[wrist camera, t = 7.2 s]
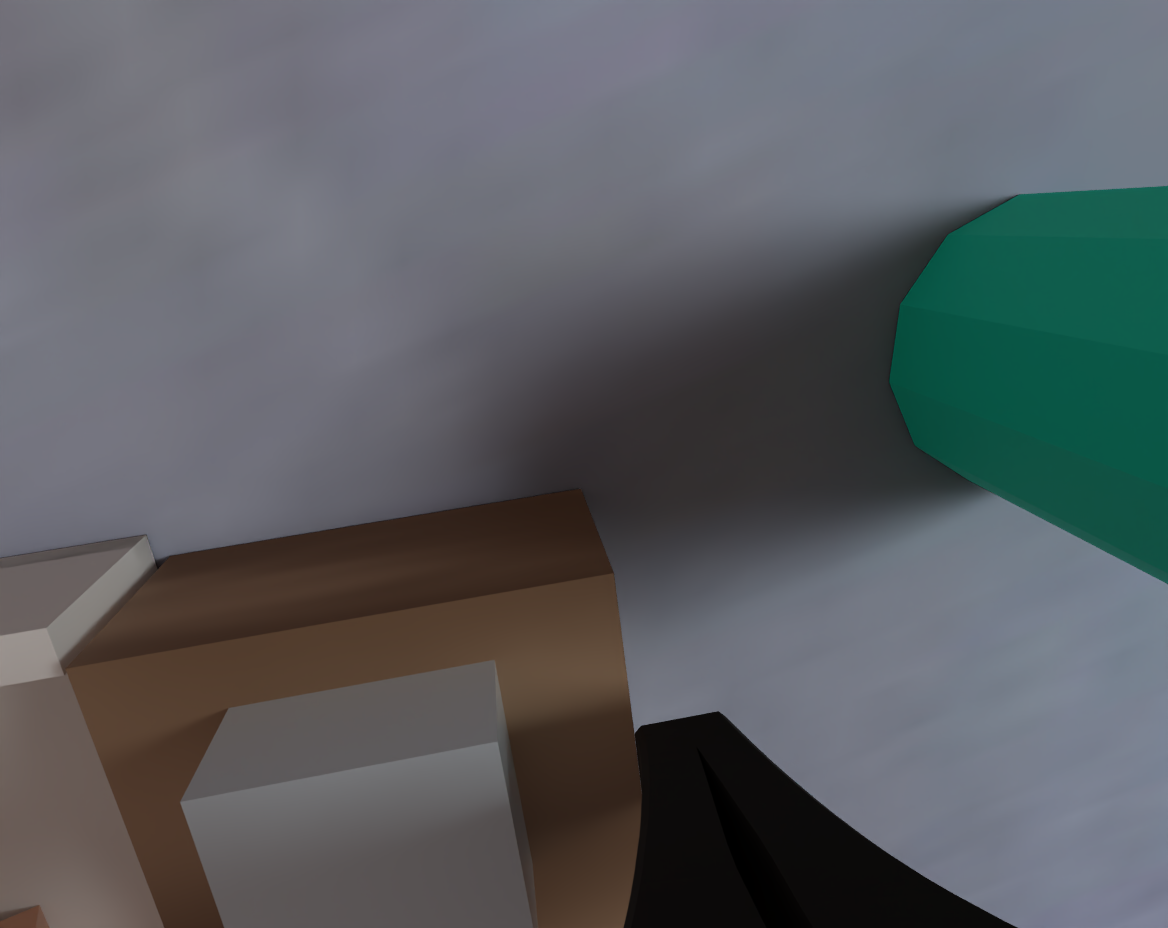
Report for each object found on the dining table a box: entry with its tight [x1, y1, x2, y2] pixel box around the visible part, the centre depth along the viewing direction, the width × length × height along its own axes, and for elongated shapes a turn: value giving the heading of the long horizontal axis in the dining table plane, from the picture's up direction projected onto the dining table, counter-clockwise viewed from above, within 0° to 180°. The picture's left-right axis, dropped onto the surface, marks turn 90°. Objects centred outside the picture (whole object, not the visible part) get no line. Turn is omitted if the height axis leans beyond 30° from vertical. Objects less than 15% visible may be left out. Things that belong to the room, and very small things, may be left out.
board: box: [65, 489, 642, 928], centre depth 15 cm, size 12×8×4 cm, turn 7°
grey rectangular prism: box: [180, 660, 538, 928], centre depth 11 cm, size 4×4×2 cm
